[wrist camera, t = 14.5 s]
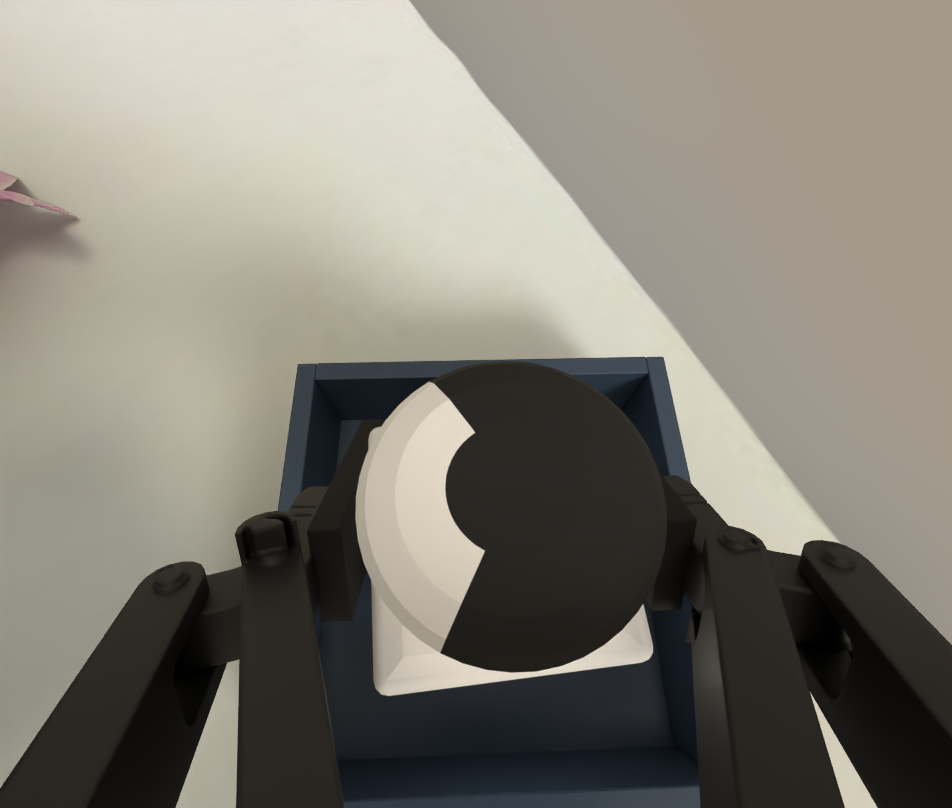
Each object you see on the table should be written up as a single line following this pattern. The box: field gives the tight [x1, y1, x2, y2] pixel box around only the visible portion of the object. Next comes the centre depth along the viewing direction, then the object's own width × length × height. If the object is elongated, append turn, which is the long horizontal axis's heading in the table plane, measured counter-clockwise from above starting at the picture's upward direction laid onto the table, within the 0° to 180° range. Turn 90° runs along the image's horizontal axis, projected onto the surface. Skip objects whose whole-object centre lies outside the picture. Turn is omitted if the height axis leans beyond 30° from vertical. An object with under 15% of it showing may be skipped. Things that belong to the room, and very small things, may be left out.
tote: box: [278, 357, 701, 808], centre depth 20 cm, size 16×16×5 cm
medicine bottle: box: [355, 361, 667, 696], centre depth 14 cm, size 7×7×12 cm
